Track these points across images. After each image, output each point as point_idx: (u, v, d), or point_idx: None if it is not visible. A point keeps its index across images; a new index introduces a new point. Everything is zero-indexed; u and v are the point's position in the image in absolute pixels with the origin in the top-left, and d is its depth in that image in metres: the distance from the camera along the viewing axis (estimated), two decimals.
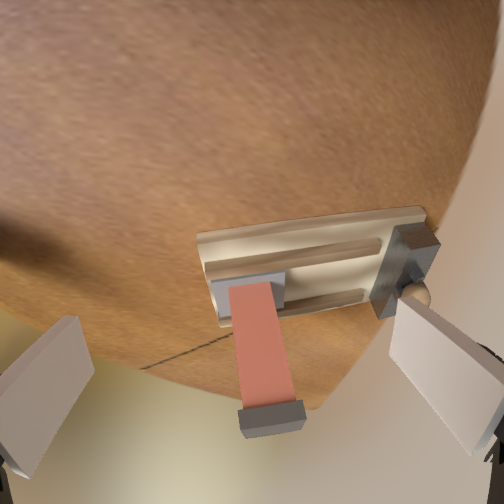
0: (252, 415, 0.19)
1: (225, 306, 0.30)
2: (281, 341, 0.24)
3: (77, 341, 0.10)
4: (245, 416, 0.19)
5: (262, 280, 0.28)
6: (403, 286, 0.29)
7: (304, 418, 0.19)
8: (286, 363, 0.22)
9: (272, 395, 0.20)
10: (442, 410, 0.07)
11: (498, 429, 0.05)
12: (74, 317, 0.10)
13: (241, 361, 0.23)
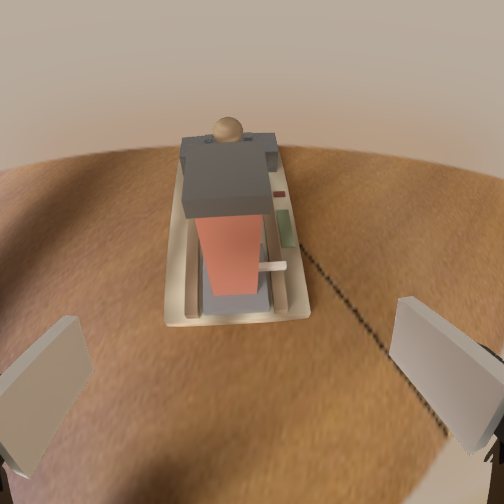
0: None
1: (247, 300, 0.27)
2: None
3: (77, 341, 0.10)
4: None
5: None
6: None
7: (188, 147, 0.18)
8: None
9: None
10: (442, 410, 0.07)
11: (498, 429, 0.05)
12: (74, 317, 0.10)
13: None
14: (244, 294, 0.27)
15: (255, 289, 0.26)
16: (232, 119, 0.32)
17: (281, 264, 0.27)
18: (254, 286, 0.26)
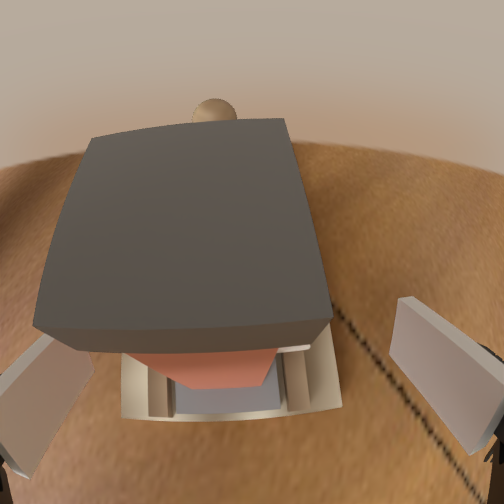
0: None
1: (246, 397, 0.15)
2: None
3: None
4: None
5: None
6: None
7: (92, 143, 0.06)
8: None
9: None
10: (442, 410, 0.07)
11: (498, 429, 0.05)
12: None
13: None
14: (241, 388, 0.16)
15: (258, 384, 0.15)
16: (220, 101, 0.21)
17: None
18: (257, 383, 0.14)
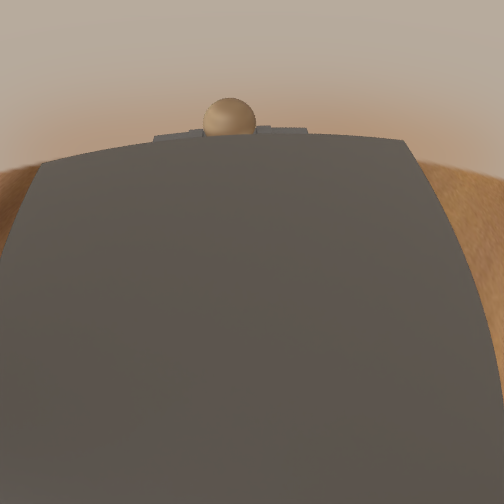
0: None
1: None
2: None
3: None
4: None
5: None
6: None
7: None
8: None
9: None
10: None
11: None
12: None
13: None
14: None
15: None
16: (237, 101, 0.17)
17: None
18: None
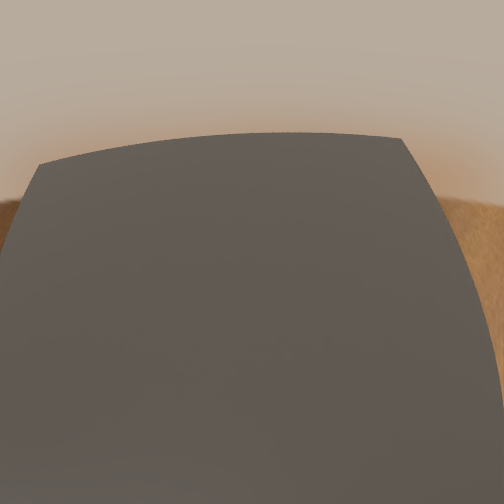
0: None
1: None
2: None
3: None
4: None
5: None
6: None
7: (39, 175, 0.03)
8: None
9: None
10: None
11: None
12: None
13: None
14: None
15: None
16: None
17: None
18: None
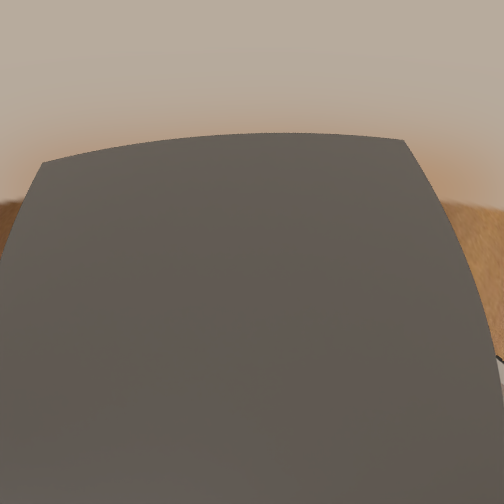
0: None
1: None
2: None
3: None
4: None
5: None
6: None
7: None
8: None
9: None
10: None
11: None
12: None
13: None
14: None
15: None
16: None
17: None
18: None
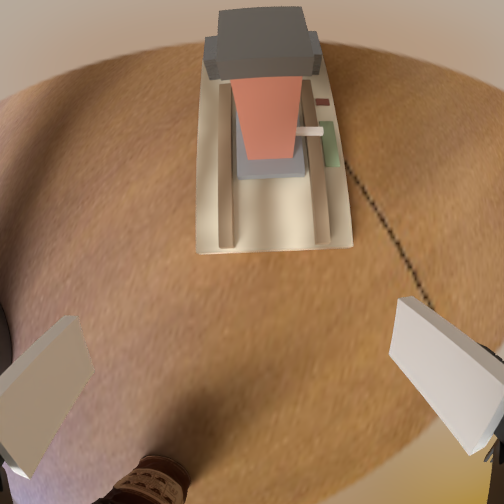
0: None
1: (283, 164, 0.25)
2: None
3: (77, 341, 0.10)
4: None
5: None
6: None
7: (219, 13, 0.13)
8: None
9: None
10: (442, 410, 0.07)
11: (498, 429, 0.05)
12: (74, 317, 0.10)
13: None
14: (279, 158, 0.25)
15: (291, 153, 0.24)
16: None
17: (318, 129, 0.24)
18: (290, 150, 0.24)
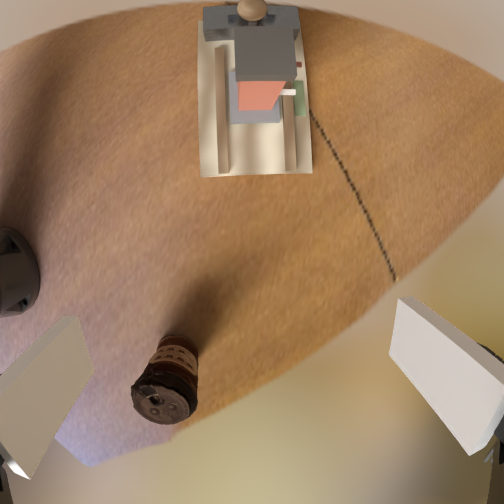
0: None
1: (264, 115, 0.33)
2: None
3: (77, 341, 0.10)
4: (235, 74, 0.21)
5: (235, 86, 0.32)
6: None
7: (234, 28, 0.19)
8: None
9: None
10: (442, 410, 0.07)
11: (498, 429, 0.05)
12: (74, 317, 0.10)
13: (239, 88, 0.25)
14: (262, 110, 0.33)
15: (271, 108, 0.32)
16: (258, 1, 0.24)
17: (291, 91, 0.31)
18: (270, 106, 0.31)
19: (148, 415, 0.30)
